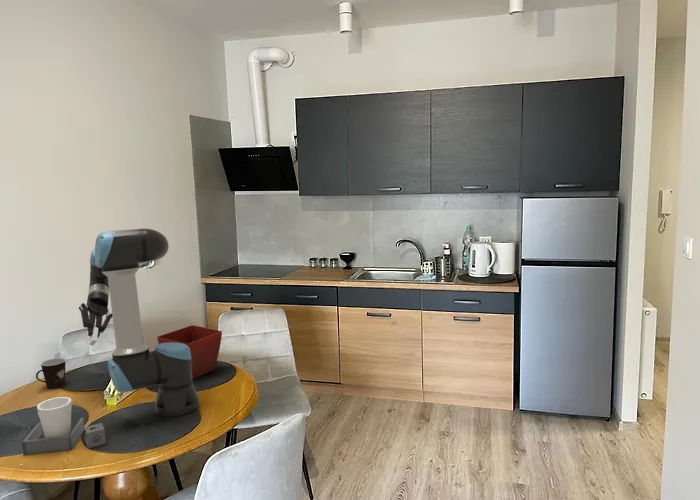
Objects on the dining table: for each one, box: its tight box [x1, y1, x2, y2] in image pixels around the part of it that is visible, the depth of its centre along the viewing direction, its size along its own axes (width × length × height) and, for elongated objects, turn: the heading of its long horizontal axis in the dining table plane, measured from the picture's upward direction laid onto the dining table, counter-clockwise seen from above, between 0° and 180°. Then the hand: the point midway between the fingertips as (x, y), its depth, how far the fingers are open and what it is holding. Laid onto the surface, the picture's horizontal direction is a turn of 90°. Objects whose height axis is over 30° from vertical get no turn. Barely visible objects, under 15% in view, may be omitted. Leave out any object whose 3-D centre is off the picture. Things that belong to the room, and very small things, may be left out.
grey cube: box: [84, 422, 107, 449], centre depth 166 cm, size 5×5×5 cm
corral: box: [21, 417, 85, 455], centre depth 167 cm, size 14×13×4 cm
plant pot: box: [156, 324, 223, 380], centre depth 222 cm, size 19×19×17 cm
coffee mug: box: [35, 357, 66, 390], centre depth 211 cm, size 12×9×10 cm
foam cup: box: [36, 396, 73, 439], centre depth 166 cm, size 10×9×13 cm
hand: (93, 342), depth 192 cm, fingers closed
